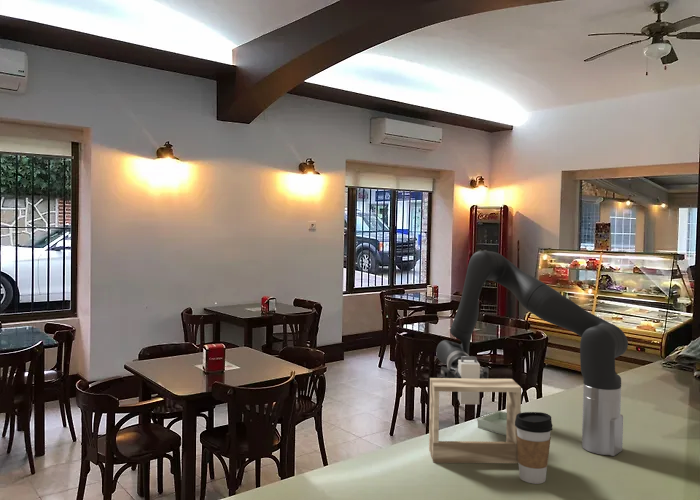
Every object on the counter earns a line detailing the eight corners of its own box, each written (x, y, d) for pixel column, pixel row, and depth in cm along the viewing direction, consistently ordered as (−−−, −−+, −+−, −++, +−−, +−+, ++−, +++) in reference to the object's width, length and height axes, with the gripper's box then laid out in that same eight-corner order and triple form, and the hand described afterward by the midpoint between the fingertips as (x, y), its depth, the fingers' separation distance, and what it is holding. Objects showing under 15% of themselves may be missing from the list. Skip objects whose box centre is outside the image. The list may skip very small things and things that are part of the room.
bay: (429, 449, 150) (429, 378, 150) (510, 450, 150) (511, 378, 149) (433, 462, 142) (434, 386, 141) (519, 463, 142) (521, 387, 141)
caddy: (457, 398, 159) (458, 354, 158) (475, 398, 159) (476, 354, 158) (460, 404, 154) (461, 358, 153) (479, 404, 154) (479, 358, 153)
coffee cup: (553, 487, 129) (555, 422, 128) (515, 484, 130) (516, 419, 130) (548, 472, 137) (550, 411, 136) (512, 469, 138) (513, 408, 138)
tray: (533, 428, 167) (533, 419, 167) (513, 438, 159) (513, 429, 159) (498, 418, 176) (498, 410, 176) (477, 427, 167) (477, 419, 167)
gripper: (436, 352, 170) (444, 366, 153) (484, 353, 170) (497, 367, 153) (436, 377, 171) (443, 394, 154) (484, 378, 170) (497, 394, 153)
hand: (470, 380), depth 153 cm, fingers closed on caddy, 5 cm apart
